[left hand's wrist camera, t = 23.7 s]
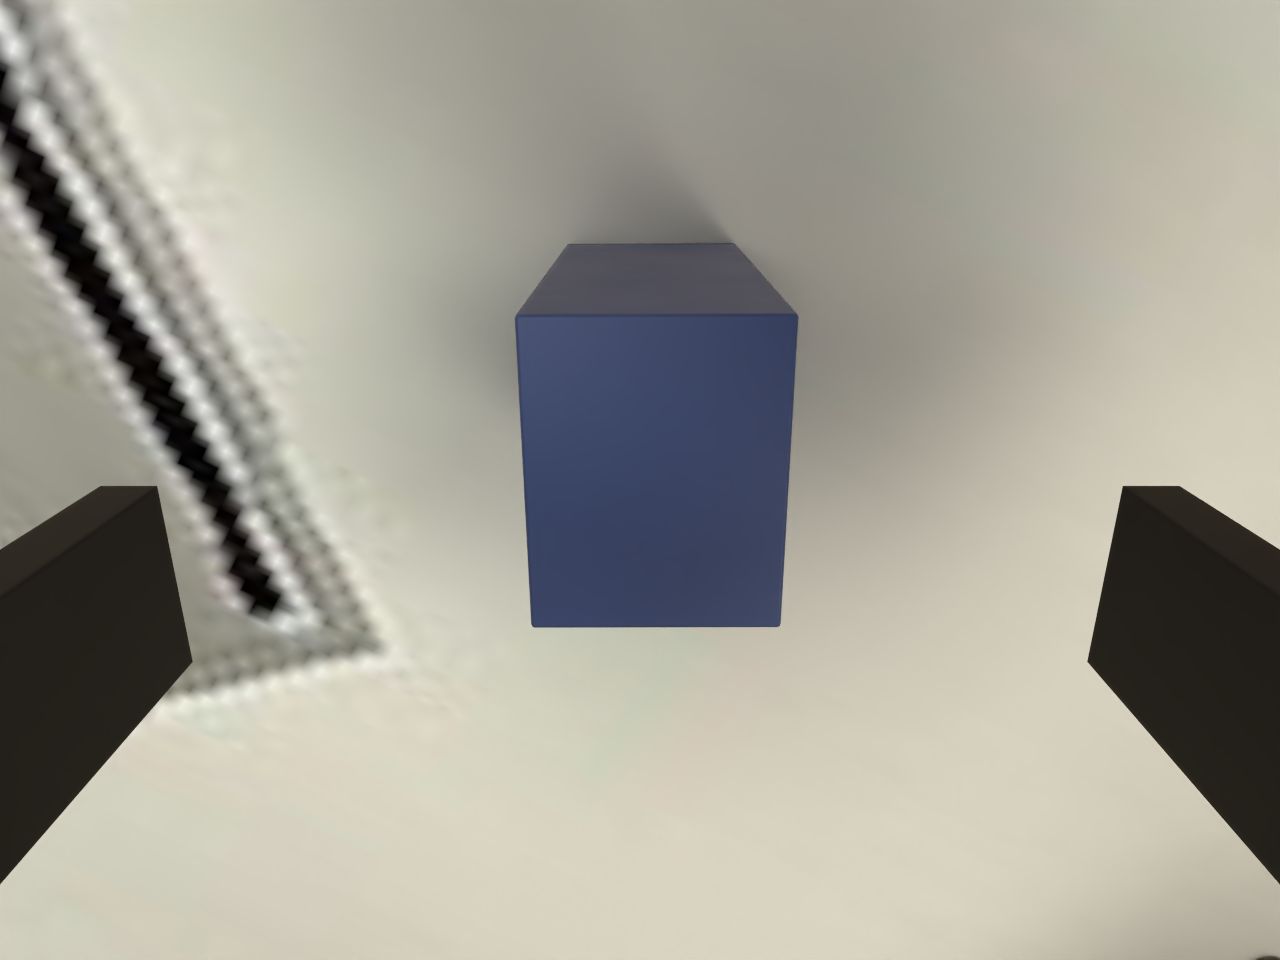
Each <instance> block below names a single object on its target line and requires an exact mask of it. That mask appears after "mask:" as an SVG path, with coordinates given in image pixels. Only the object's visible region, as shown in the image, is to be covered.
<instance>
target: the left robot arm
mask: <svg viewBox="0 0 1280 960" xmlns="http://www.w3.org/2000/svg"><path fill="white" fill-rule="evenodd" d="M192 662H193V661H192V656H191V652H190V647H189V642H188V637H187V632H186V627H185V622H184V617H183V612H182V607H181V602H180V597H179V592H178V587H177V582H176V577H175V573H174V568H173V563H172V558H171V553H170V548H169V543H168V538H167V533H166V528H165V523H164V518H163V513H162V508H161V503H160V498H159V494H158V489H157V486H100V487H98V488H97V489H95V490H94V491H92V492H91V493H89V494H87V495H86V496H84V497H83V498H81V499H79V500H78V501H76V502H75V503H73V504H72V505H70V506H68V507H67V508H65V509H64V510H62V511H61V512H59V513H57V514H56V515H54V516H53V517H51V518H50V519H48V520H46V521H45V522H43V523H42V524H40V525H38V526H37V527H35V528H34V529H32V530H31V531H29V532H27V533H26V534H24V535H23V536H21V537H20V538H18V539H16V540H15V541H13V542H12V543H10V544H9V545H7V546H5V547H4V548H2V549H1V550H0V884H1V883H2V881H3V880H4V879H5V878H6V877H7V876H8V875H9V873H10V872H11V871H12V870H13V869H14V868H15V866H16V865H17V864H18V863H19V862H20V861H21V860H22V858H23V857H24V856H25V855H26V854H27V853H28V851H29V850H30V849H31V848H32V847H33V846H34V844H35V843H36V842H37V841H38V840H39V839H40V838H41V836H42V835H43V834H44V833H45V832H46V831H47V829H48V828H49V827H50V826H51V825H52V824H53V822H54V821H55V820H56V819H57V818H58V817H59V816H60V814H61V813H62V812H63V811H64V810H65V809H66V807H67V806H68V805H69V804H70V803H71V802H72V801H73V799H74V798H75V797H76V796H77V795H78V794H79V792H80V791H81V790H82V789H83V788H84V787H85V785H86V784H87V783H88V782H89V781H90V780H91V779H92V777H93V776H94V775H95V774H96V773H97V772H98V770H99V769H100V768H101V767H102V766H103V765H104V764H105V762H106V761H107V760H108V759H109V758H110V757H111V755H112V754H113V753H114V752H115V751H116V750H117V748H118V747H119V746H120V745H121V744H122V743H123V742H124V740H125V739H126V738H127V737H128V736H129V735H130V733H131V732H132V731H133V730H134V729H135V728H136V727H137V725H138V724H139V723H140V722H141V721H142V720H143V718H144V717H145V716H146V715H147V714H148V713H149V711H150V710H151V709H152V708H153V707H154V706H155V705H156V703H157V702H158V701H159V700H160V699H161V698H162V696H163V695H164V694H165V693H166V692H167V691H168V689H169V688H170V687H171V686H172V685H173V684H174V683H175V681H176V680H177V679H178V678H179V677H180V676H181V674H182V673H183V672H184V671H185V670H186V669H187V668H188V666H189V665H190V664H191V663H192ZM1087 662H1088V663H1089V664H1090V665H1091V666H1092V668H1093V669H1094V670H1095V671H1096V672H1097V673H1098V674H1099V676H1100V677H1101V678H1102V679H1103V680H1104V681H1105V683H1106V684H1107V685H1108V686H1109V687H1110V688H1111V689H1112V691H1113V692H1114V693H1115V694H1116V695H1117V696H1118V698H1119V699H1120V700H1121V701H1122V702H1123V703H1124V705H1125V706H1126V707H1127V708H1128V709H1129V710H1130V711H1131V713H1132V714H1133V715H1134V716H1135V717H1136V718H1137V720H1138V721H1139V722H1140V723H1141V724H1142V725H1143V727H1144V728H1145V729H1146V730H1147V731H1148V732H1149V733H1150V735H1151V736H1152V737H1153V738H1154V739H1155V740H1156V742H1157V743H1158V744H1159V745H1160V746H1161V747H1162V748H1163V750H1164V751H1165V752H1166V753H1167V754H1168V755H1169V757H1170V758H1171V759H1172V760H1173V761H1174V762H1175V764H1176V765H1177V766H1178V767H1179V768H1180V769H1181V770H1182V772H1183V773H1184V774H1185V775H1186V776H1187V777H1188V779H1189V780H1190V781H1191V782H1192V783H1193V784H1194V785H1195V787H1196V788H1197V789H1198V790H1199V791H1200V792H1201V794H1202V795H1203V796H1204V797H1205V798H1206V799H1207V801H1208V802H1209V803H1210V804H1211V805H1212V806H1213V807H1214V809H1215V810H1216V811H1217V812H1218V813H1219V814H1220V816H1221V817H1222V818H1223V819H1224V820H1225V821H1226V823H1227V824H1228V825H1229V826H1230V827H1231V828H1232V829H1233V831H1234V832H1235V833H1236V834H1237V835H1238V836H1239V838H1240V839H1241V840H1242V841H1243V842H1244V843H1245V844H1246V846H1247V847H1248V848H1249V849H1250V850H1251V851H1252V853H1253V854H1254V855H1255V856H1256V857H1257V858H1258V860H1259V861H1260V862H1261V863H1262V864H1263V865H1264V866H1265V868H1266V869H1267V870H1268V871H1269V872H1270V873H1271V875H1272V876H1273V877H1274V878H1275V879H1276V880H1277V881H1278V883H1279V884H1280V550H1279V549H1278V548H1276V547H1275V546H1273V545H1271V544H1270V543H1268V542H1267V541H1265V540H1264V539H1262V538H1260V537H1259V536H1257V535H1256V534H1254V533H1253V532H1251V531H1249V530H1248V529H1246V528H1245V527H1243V526H1242V525H1240V524H1238V523H1237V522H1235V521H1234V520H1232V519H1230V518H1229V517H1227V516H1226V515H1224V514H1223V513H1221V512H1219V511H1218V510H1216V509H1215V508H1213V507H1212V506H1210V505H1208V504H1207V503H1205V502H1204V501H1202V500H1201V499H1199V498H1197V497H1196V496H1194V495H1193V494H1191V493H1189V492H1188V491H1186V490H1185V489H1183V488H1182V487H1180V486H1123V489H1122V494H1121V498H1120V503H1119V508H1118V513H1117V518H1116V523H1115V528H1114V533H1113V538H1112V543H1111V548H1110V553H1109V558H1108V563H1107V568H1106V573H1105V577H1104V582H1103V587H1102V592H1101V597H1100V602H1099V607H1098V612H1097V617H1096V622H1095V627H1094V632H1093V637H1092V642H1091V647H1090V652H1089V656H1088V661H1087Z"/></svg>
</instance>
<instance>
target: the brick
mask: <svg viewBox="0 0 1280 960" xmlns="http://www.w3.org/2000/svg"><path fill="white" fill-rule="evenodd" d="M515 328H516V346H517V365H518V383H519V402H520V420H521V439H522V458H523V476H524V495H525V513H526V532H527V551H528V569H529V588H530V606H531V624H532V626H533V627H779V626H780V624H781V606H782V589H783V572H784V555H785V537H786V520H787V503H788V486H789V468H790V451H791V434H792V417H793V399H794V382H795V365H796V348H797V330H798V315H797V313H796V312H795V311H794V310H793V309H792V308H791V307H790V306H789V304H788V303H787V302H786V301H785V300H784V299H783V298H782V297H781V295H780V294H779V293H778V292H777V291H776V290H775V289H774V288H773V286H772V285H771V284H770V283H769V282H768V281H767V280H766V279H765V277H764V276H763V275H762V274H761V273H760V272H759V271H758V270H757V268H756V267H755V266H754V265H753V264H752V263H751V262H750V261H749V259H748V258H747V257H746V256H745V255H744V254H743V253H742V252H741V250H740V249H739V248H738V247H737V246H736V245H735V244H733V243H726V244H568V245H567V246H566V248H565V249H564V250H563V252H562V253H561V255H560V256H559V257H558V259H557V260H556V261H555V263H554V264H553V265H552V267H551V268H550V270H549V271H548V272H547V274H546V275H545V276H544V278H543V279H542V280H541V282H540V283H539V285H538V286H537V287H536V289H535V290H534V291H533V293H532V294H531V296H530V297H529V298H528V300H527V301H526V302H525V304H524V305H523V306H522V308H521V309H520V311H519V312H518V313H517V315H516V317H515Z"/></svg>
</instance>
